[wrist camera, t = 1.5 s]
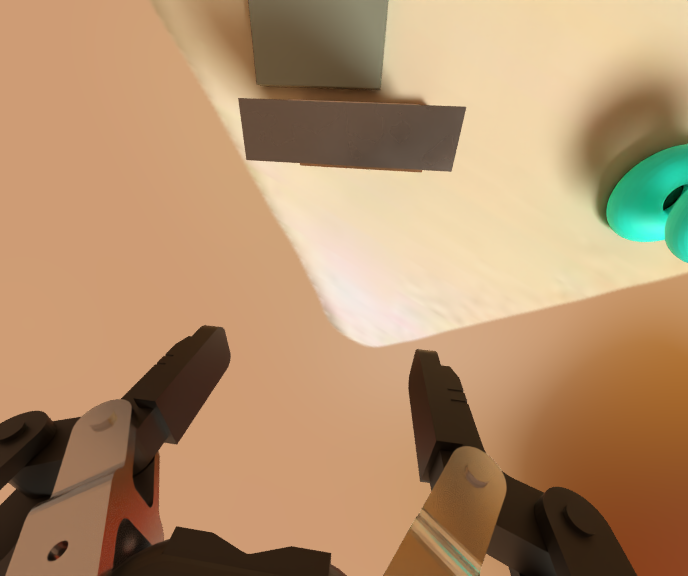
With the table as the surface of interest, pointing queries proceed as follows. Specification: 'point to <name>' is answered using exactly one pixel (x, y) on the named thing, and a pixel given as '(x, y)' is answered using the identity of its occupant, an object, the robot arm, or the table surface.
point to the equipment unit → (352, 134)
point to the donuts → (653, 201)
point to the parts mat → (319, 42)
